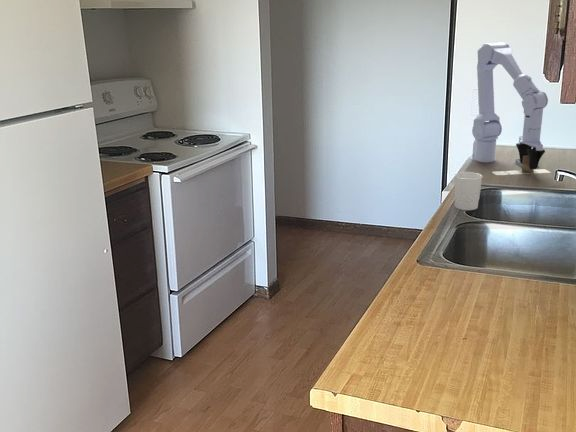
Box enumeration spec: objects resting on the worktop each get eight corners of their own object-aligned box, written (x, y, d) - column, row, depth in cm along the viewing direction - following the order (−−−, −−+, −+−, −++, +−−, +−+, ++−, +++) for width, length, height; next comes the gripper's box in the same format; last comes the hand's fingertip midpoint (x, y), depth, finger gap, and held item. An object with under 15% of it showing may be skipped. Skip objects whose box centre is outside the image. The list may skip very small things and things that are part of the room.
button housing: (515, 165, 230) (515, 159, 229) (530, 165, 230) (531, 158, 230) (521, 170, 224) (522, 163, 224) (537, 169, 225) (538, 162, 224)
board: (487, 172, 223) (487, 169, 223) (541, 169, 224) (542, 167, 224) (498, 180, 213) (498, 177, 213) (554, 177, 214) (555, 174, 214)
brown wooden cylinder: (519, 170, 220) (521, 155, 218) (530, 169, 220) (532, 154, 219) (524, 173, 217) (525, 158, 215) (535, 173, 217) (537, 157, 215)
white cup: (477, 202, 191) (479, 171, 188) (482, 211, 184) (484, 178, 181) (451, 202, 192) (452, 171, 189) (455, 211, 185) (457, 179, 181)
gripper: (512, 124, 220) (508, 161, 224) (529, 132, 206) (525, 172, 211) (531, 123, 220) (528, 160, 225) (550, 131, 207) (546, 171, 211)
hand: (528, 166), depth 218 cm, fingers open, 7 cm apart
